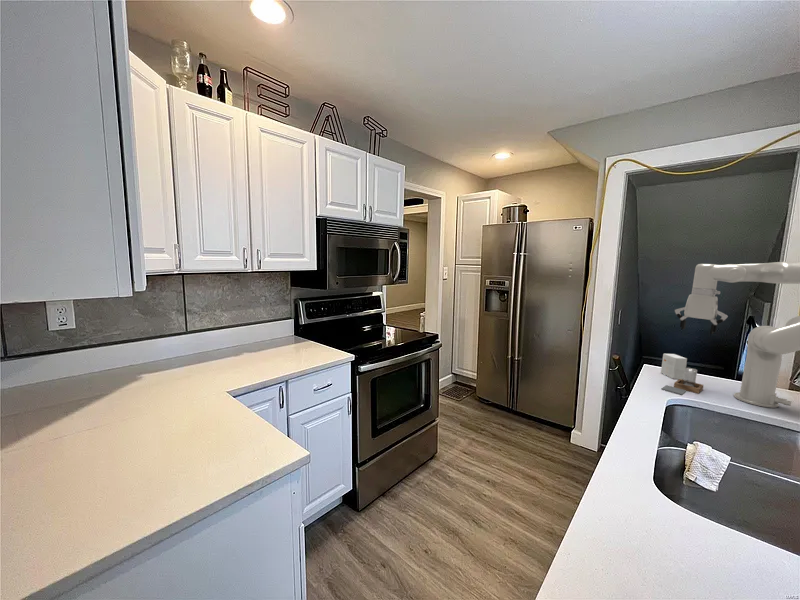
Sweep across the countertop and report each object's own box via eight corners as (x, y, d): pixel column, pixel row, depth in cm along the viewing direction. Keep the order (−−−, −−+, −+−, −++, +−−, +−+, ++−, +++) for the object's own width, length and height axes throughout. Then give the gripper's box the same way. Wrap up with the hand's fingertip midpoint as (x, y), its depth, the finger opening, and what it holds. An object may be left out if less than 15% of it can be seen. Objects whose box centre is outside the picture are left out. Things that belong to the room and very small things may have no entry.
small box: (684, 379, 158) (687, 358, 157) (672, 379, 158) (676, 358, 157) (671, 373, 166) (674, 353, 165) (660, 373, 166) (663, 353, 165)
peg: (695, 389, 146) (698, 369, 145) (692, 390, 144) (696, 371, 143) (683, 386, 149) (686, 367, 148) (681, 387, 147) (684, 368, 146)
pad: (686, 391, 143) (686, 390, 143) (681, 395, 138) (681, 393, 138) (666, 386, 148) (666, 385, 148) (661, 389, 144) (661, 388, 144)
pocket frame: (702, 389, 146) (703, 384, 146) (698, 393, 141) (699, 388, 141) (678, 383, 153) (679, 378, 152) (673, 387, 147) (674, 382, 147)
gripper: (733, 294, 137) (726, 334, 139) (680, 290, 150) (674, 326, 152) (729, 295, 132) (722, 336, 134) (675, 290, 146) (669, 328, 148)
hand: (697, 331), depth 143 cm, fingers open, 9 cm apart
